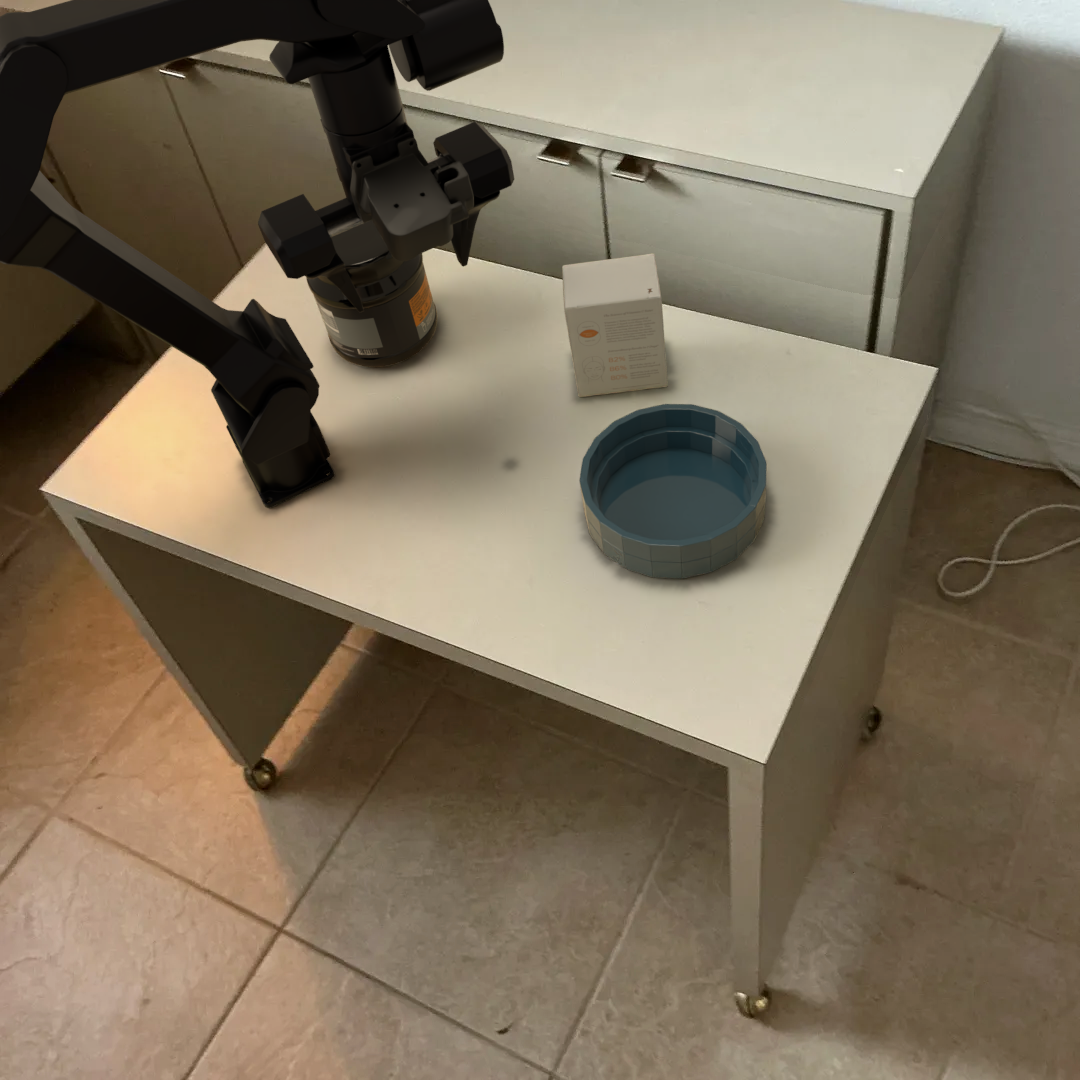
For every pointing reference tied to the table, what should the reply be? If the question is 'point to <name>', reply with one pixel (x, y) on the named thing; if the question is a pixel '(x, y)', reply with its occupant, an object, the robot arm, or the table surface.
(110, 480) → the table surface
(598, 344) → the small box
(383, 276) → the supplement container
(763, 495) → the bowl
